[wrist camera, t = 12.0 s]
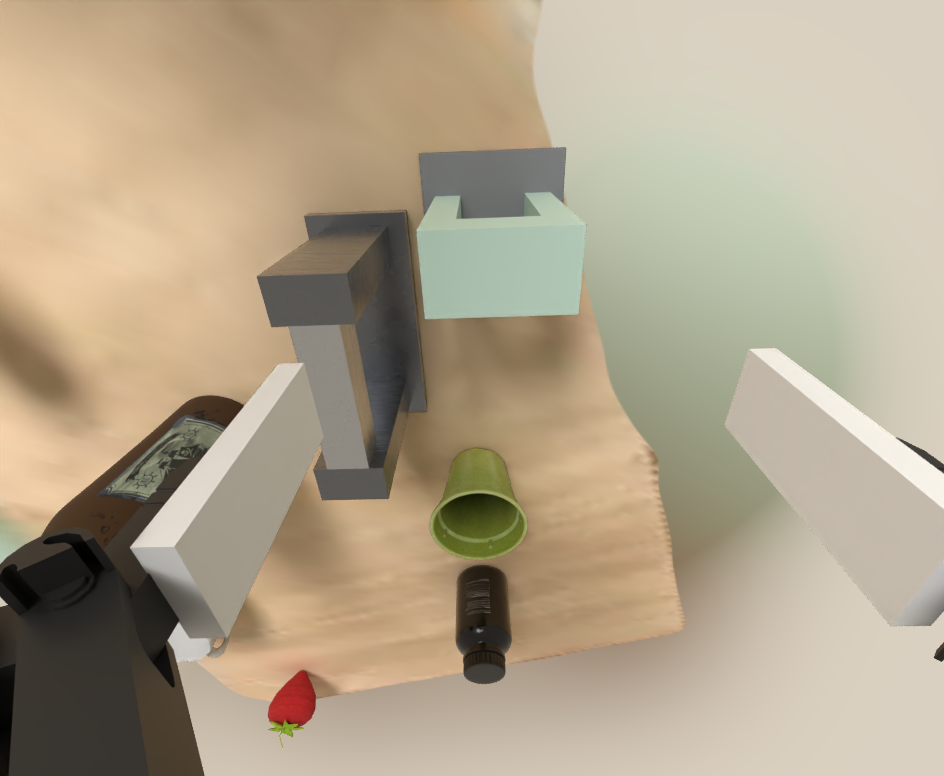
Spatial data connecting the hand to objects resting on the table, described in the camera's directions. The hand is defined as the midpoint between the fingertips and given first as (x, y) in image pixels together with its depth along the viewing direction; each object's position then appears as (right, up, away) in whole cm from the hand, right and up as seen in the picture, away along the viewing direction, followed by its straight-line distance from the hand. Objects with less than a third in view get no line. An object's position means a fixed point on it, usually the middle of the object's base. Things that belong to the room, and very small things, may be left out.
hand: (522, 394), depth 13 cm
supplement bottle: (0, -26, +47) cm, 53 cm away
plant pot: (-1, -9, +36) cm, 37 cm away
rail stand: (-11, +6, +27) cm, 30 cm away
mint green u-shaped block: (0, +13, +22) cm, 26 cm away
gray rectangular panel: (0, +13, +23) cm, 26 cm away
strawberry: (-29, -46, +59) cm, 81 cm away
